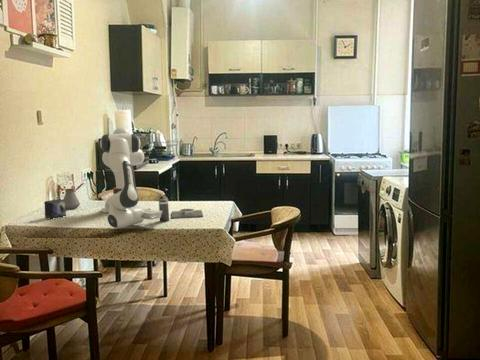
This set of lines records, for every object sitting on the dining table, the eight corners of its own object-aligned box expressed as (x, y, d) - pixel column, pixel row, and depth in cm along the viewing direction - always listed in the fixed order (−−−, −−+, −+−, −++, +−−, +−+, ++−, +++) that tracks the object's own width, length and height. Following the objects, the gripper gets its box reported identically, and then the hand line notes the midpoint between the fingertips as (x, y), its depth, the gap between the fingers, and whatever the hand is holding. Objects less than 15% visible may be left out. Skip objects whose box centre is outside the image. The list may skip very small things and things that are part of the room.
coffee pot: (72, 210, 312) (71, 187, 310) (57, 209, 316) (56, 187, 314) (92, 204, 333) (91, 182, 331) (78, 203, 336) (76, 182, 334)
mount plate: (171, 218, 280) (171, 213, 280) (171, 213, 296) (171, 208, 295) (202, 217, 282) (202, 211, 282) (201, 211, 298) (201, 206, 298)
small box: (51, 219, 285) (50, 202, 284) (44, 218, 289) (43, 201, 287) (66, 216, 294) (65, 199, 293) (59, 215, 297) (58, 198, 296)
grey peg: (159, 222, 272) (158, 200, 270) (159, 220, 277) (158, 199, 276) (169, 221, 273) (168, 200, 271) (169, 219, 278) (168, 198, 276)
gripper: (149, 211, 252) (168, 207, 262) (123, 207, 264) (143, 203, 275) (149, 223, 253) (168, 218, 263) (124, 219, 265) (143, 214, 276)
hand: (155, 210), depth 269 cm, fingers open, 8 cm apart
